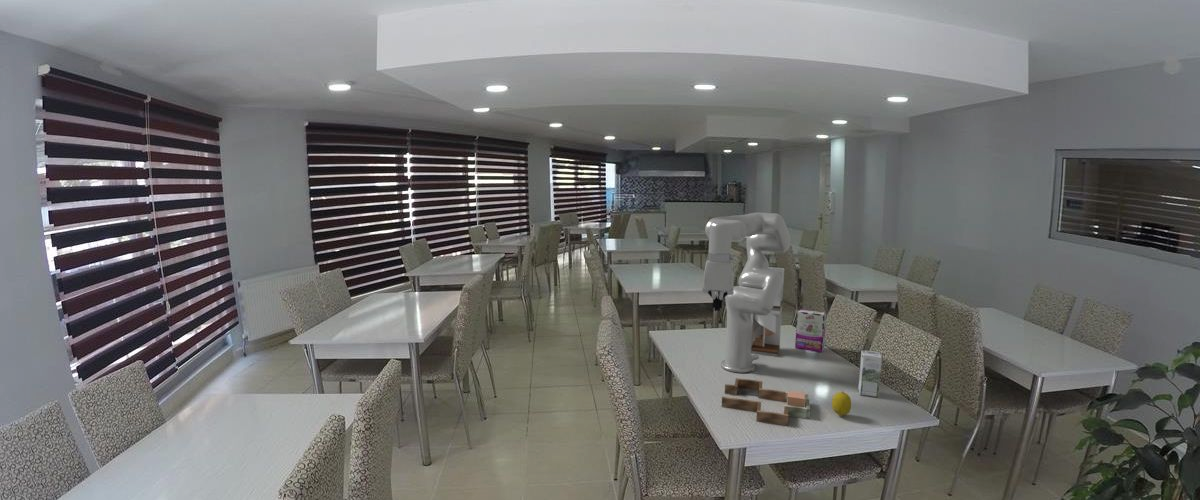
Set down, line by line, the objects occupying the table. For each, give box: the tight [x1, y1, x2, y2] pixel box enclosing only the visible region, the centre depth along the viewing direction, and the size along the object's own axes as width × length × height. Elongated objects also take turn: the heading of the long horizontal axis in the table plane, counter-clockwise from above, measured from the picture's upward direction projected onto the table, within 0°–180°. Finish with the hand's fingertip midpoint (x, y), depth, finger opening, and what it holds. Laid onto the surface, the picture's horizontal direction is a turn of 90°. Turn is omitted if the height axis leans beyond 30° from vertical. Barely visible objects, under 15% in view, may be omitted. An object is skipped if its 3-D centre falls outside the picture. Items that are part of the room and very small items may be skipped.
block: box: [786, 390, 805, 407], centre depth 175 cm, size 5×5×5 cm
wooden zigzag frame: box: [721, 377, 811, 426], centre depth 178 cm, size 26×26×3 cm
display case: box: [750, 266, 785, 358], centre depth 229 cm, size 11×11×35 cm
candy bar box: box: [794, 309, 827, 354], centre depth 234 cm, size 11×5×16 cm, turn 58°
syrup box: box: [857, 349, 883, 398], centre depth 188 cm, size 6×6×14 cm
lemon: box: [831, 391, 852, 417], centre depth 170 cm, size 6×6×8 cm
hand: (717, 309), depth 191 cm, fingers closed
